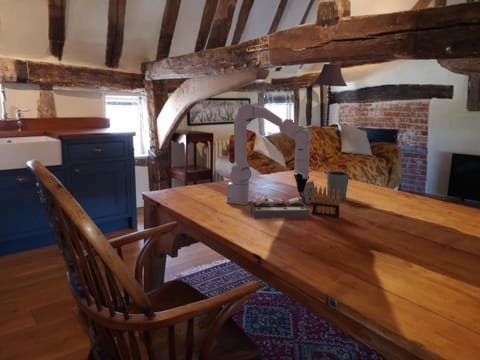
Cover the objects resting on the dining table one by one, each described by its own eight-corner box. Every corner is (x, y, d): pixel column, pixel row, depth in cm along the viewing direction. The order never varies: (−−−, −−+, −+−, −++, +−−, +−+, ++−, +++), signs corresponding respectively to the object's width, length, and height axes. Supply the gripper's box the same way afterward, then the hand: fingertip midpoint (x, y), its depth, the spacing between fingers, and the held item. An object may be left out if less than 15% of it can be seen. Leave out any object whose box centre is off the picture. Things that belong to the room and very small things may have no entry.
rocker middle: (272, 202, 148) (273, 198, 148) (271, 199, 151) (272, 196, 151) (284, 205, 149) (285, 201, 149) (283, 202, 152) (284, 199, 152)
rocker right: (290, 205, 149) (289, 201, 149) (289, 202, 152) (288, 199, 152) (302, 201, 149) (302, 198, 149) (300, 199, 152) (300, 196, 152)
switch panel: (253, 218, 143) (254, 209, 142) (250, 209, 155) (250, 201, 154) (308, 217, 145) (309, 209, 144) (301, 208, 156) (302, 200, 156)
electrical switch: (307, 205, 161) (306, 184, 160) (297, 203, 165) (296, 183, 163) (317, 200, 168) (316, 180, 167) (307, 199, 172) (306, 180, 170)
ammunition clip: (311, 214, 149) (313, 186, 146) (312, 213, 150) (314, 185, 147) (338, 217, 145) (341, 188, 142) (339, 216, 147) (341, 187, 144)
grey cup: (323, 199, 171) (325, 174, 168) (327, 193, 180) (329, 169, 177) (346, 201, 167) (348, 176, 164) (348, 196, 176) (350, 171, 173)
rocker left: (257, 206, 148) (255, 203, 148) (256, 203, 151) (255, 200, 151) (269, 201, 148) (267, 198, 148) (267, 199, 151) (266, 196, 151)
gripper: (316, 162, 140) (314, 196, 143) (307, 156, 154) (305, 187, 157) (298, 162, 139) (297, 196, 143) (290, 156, 154) (289, 187, 157)
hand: (300, 191), depth 150 cm, fingers closed
